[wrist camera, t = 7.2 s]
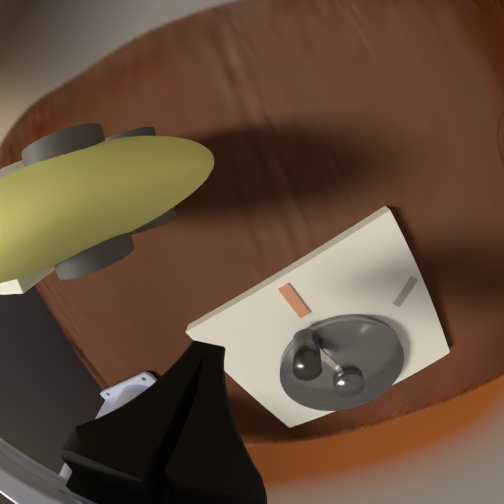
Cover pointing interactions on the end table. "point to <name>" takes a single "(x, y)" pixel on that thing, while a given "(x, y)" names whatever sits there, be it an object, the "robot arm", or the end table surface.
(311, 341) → the cam dial
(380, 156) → the end table surface
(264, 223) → the end table surface
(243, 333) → the base plate
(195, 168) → the emoji
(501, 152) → the beer glass
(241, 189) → the end table surface
